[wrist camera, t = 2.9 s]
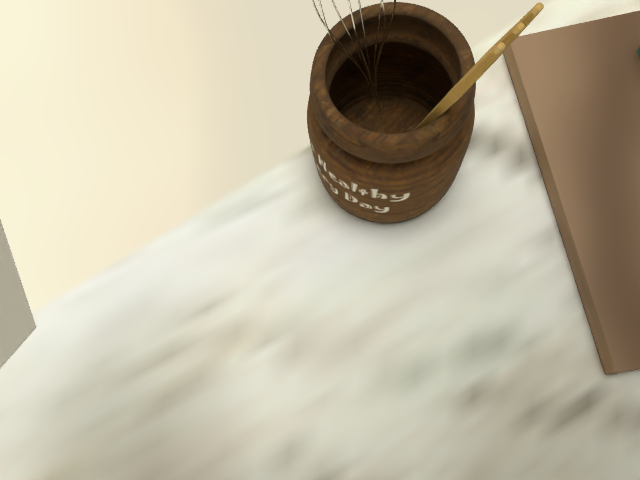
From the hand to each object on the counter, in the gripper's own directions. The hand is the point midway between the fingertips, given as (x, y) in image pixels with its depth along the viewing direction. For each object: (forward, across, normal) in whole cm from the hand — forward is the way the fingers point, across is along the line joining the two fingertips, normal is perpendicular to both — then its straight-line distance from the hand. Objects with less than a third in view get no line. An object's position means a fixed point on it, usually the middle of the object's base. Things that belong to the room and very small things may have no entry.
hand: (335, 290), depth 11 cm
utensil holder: (+14, +1, -3) cm, 14 cm away
